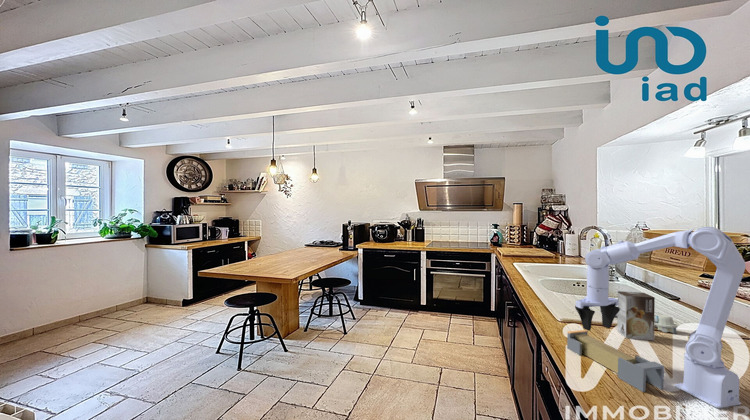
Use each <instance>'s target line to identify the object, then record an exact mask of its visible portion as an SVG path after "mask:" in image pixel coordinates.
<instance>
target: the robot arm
mask: <svg viewBox="0 0 750 420" xmlns="http://www.w3.org/2000/svg"><path fill="white" fill-rule="evenodd" d="M671 247H677V248H682V249H686V250H687V249H689V248H690V247H691V248H692V249H693V250H694V251H695V252H697V253H700V254H701V255H702V256H705V257H706V258H707V259H708V260H709V261H711V262H712V263H713V264H714V266H715V267H716V270H715V273H714V277H713V279H712V282H711V285H710V289H709V291H708V294H707V297H706V300H705V303H704V306H703V310H702V312H701V316H700V318H699V322H698V325H697V327H696V329H695V330H694V331H692V332H691V333H690V334H689V337H688V340H687V342H686V343H685V345H684V347H685V349H684V350H685V352H684V355H683V357H684V358H683V382H680V383H679V382H678V383H675V384H674V388H678V389H679V390H681V391H684V392H685V393H687V394H689V395H691V396H693V397H695V398H697V399H698V400H701V401H702V402H704V403H706V404H709V405H710V406H712V407H714V408H716V409H722V408H727V407H734V406H739V405H742V402H741V401H740V377H739V376H738V375H737V374H736V373H735V372H734V371H732V370H729V368H727V367H726V366H725V362H724V361H723V360H722V354H721V353H722V350H723V347H724V346H723V342H722V337H723V334H724V330H725V328H726V325H727V323H728V319H729V316H730V313H731V311H732V308H733V305H734V301H735V299H736V296H737V293H738V290H739V287H740V285H741V282H742V279H743V276H744V274H745V270H746V261H745V259H744V258H743V256H742V255H741V253H740V252H739V250H738V248H737V247H736V245H735V243H734V241H733V239H732V238H731V237H730V236H728V235H727V234H726V233H724V231H722V230H721V229H719V228H716V227H714V226H702V227H699V228H697V229H695V228H693V229H686V230H680V231H674V232H671V233H667V234H663V235H660V236H657V237H656V236H655V237H652V238H650V239H646V240H644V241H640V242H635V243H634V242H632V241H630V240H625V241H624V240H622V239H621V240H619V241H617V243H615V244H612V245H608V246H605V245H603V246H600V248H597V249H592V250H590V251H589V252H587V253H586V254H585V258H584V260H585V263H586V265H587V271H586V296H584V298H581V299H579V300H578V299H577V300H575V306H574V308H575V310H576V312H577V313H578V315H579V318H580V320H581V321H580V322H581V325H582V328H583V330H587V331H591V329H592V321H593V317H594V315H595V313H596V311H594V310H593V309H591V308H593V307H594V308H596V307H599V309H601V310H600V313H601V324H602V327H604V328H606V329H611V327H612V324H613V322H614V320H615V317H617V316H616V314H617V313H618V312H619V311H620V308H619V307H618V306H619V300H618V298H615V297H609V294H610V293H609V291H610V290H609V287H610V272H609V271H610V270H609V267H610V265H614V266H615V265H618V264H622V263H627V262H630V261H634V260H638V259H639V257H640V255H641V254H644V253H648V252H653V251H657V250H662V249H666V248H671ZM711 262H710V263H711Z"/></svg>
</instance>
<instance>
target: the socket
mask: <svg viewBox="0 0 750 420" xmlns="http://www.w3.org/2000/svg"><path fill="white" fill-rule="evenodd" d="M580 334H587V335H588V330H586V329H578V330H568V331H567V339H566V341H567V342H566V343H567V344H566V347H567V349H568V350H570V351H571V352H573V353H575V354H576V353H577V354H576V355H578V354H579V356H582V354H583V353H582V343H580V342H579V341H577V340H576V335H580Z"/></svg>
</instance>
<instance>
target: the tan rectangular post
mask: <svg viewBox="0 0 750 420" xmlns="http://www.w3.org/2000/svg"><path fill="white" fill-rule="evenodd" d="M576 340H577V341H579V342H580V343H582V354H583V355H584V356H587V357H588V358H590V359H592V360H593V361H595V362H597V363H599V364H600V365H602V366H604V367H605V368H607V369H609V370H610V371H613V372H614V373H616V374H618V358H620V357H621V358H623V359H625V360H627V361H628V362H630V363H632V364H636V359H635V357H633V356H632V355H629V354H627V353H625V352H624V351H621V350H619V349H617V348H615V347H612V345H608V344H607V343H604V342H603V341H600V340H598V339H597V338H595V337H592V336H591V335H589V334H588V333H587V334H580V335H576Z"/></svg>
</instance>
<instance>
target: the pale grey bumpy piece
mask: <svg viewBox="0 0 750 420" xmlns="http://www.w3.org/2000/svg"><path fill="white" fill-rule="evenodd" d="M599 309H600V308H599ZM600 311H601V309H600ZM615 317H617V318H618V313H617V314H616V316H615ZM655 325H656V328H657V327H658V329H657V330H658V331H661V332H663V333H670V334H675V333H676V334H677V332H678V331H677V328H678V324H675V323H674V319H673V317H672V316H670V315H668V314H667V315H666V314H659V315H658V314H654V326H655Z"/></svg>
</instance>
